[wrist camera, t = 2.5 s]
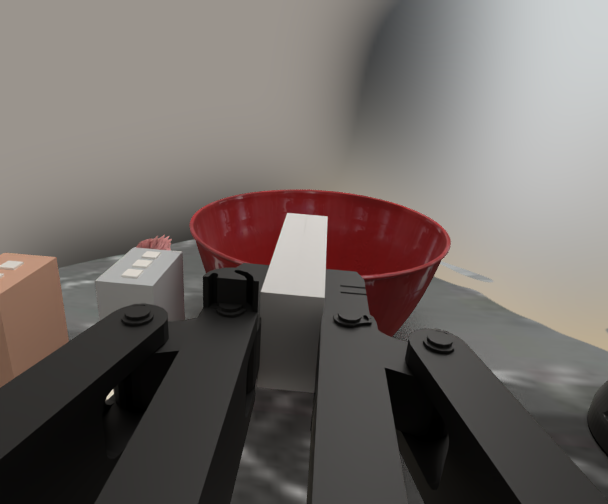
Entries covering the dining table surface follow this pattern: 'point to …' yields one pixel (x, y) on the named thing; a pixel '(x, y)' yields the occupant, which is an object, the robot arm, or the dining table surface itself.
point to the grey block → (143, 282)
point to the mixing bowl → (332, 242)
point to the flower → (156, 243)
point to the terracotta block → (29, 312)
